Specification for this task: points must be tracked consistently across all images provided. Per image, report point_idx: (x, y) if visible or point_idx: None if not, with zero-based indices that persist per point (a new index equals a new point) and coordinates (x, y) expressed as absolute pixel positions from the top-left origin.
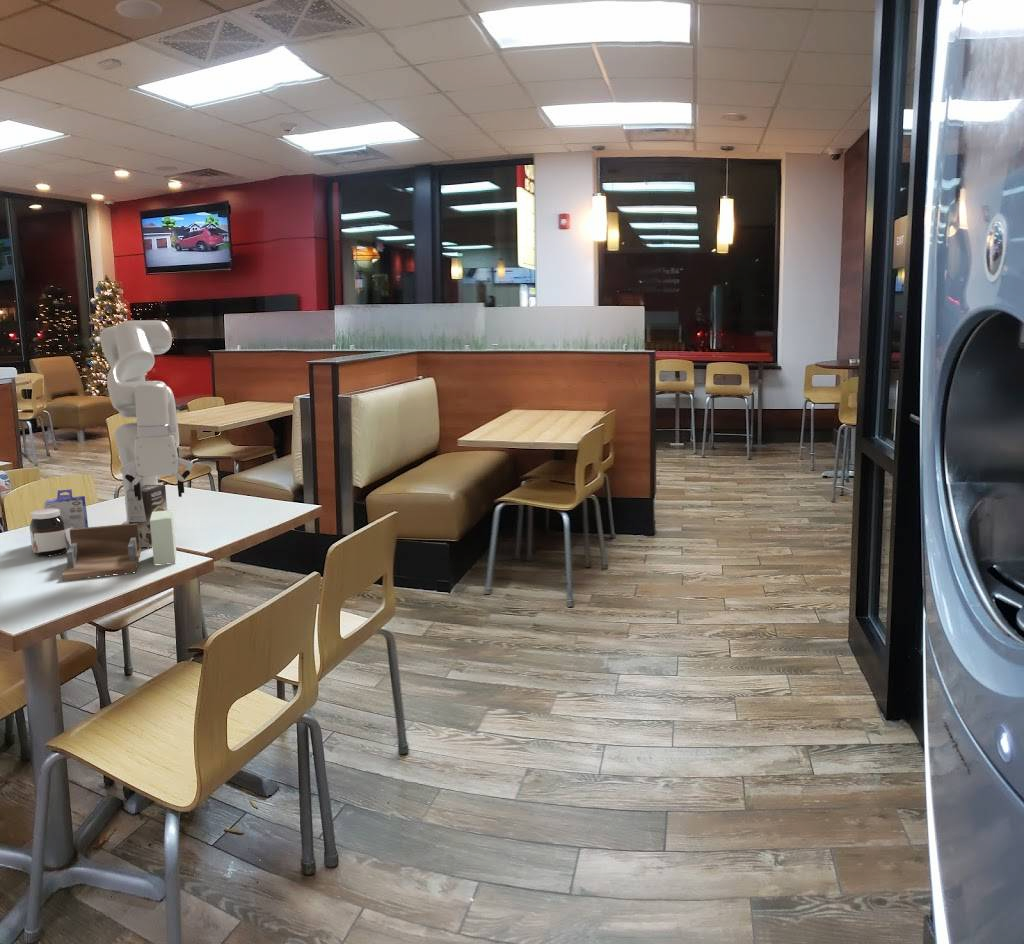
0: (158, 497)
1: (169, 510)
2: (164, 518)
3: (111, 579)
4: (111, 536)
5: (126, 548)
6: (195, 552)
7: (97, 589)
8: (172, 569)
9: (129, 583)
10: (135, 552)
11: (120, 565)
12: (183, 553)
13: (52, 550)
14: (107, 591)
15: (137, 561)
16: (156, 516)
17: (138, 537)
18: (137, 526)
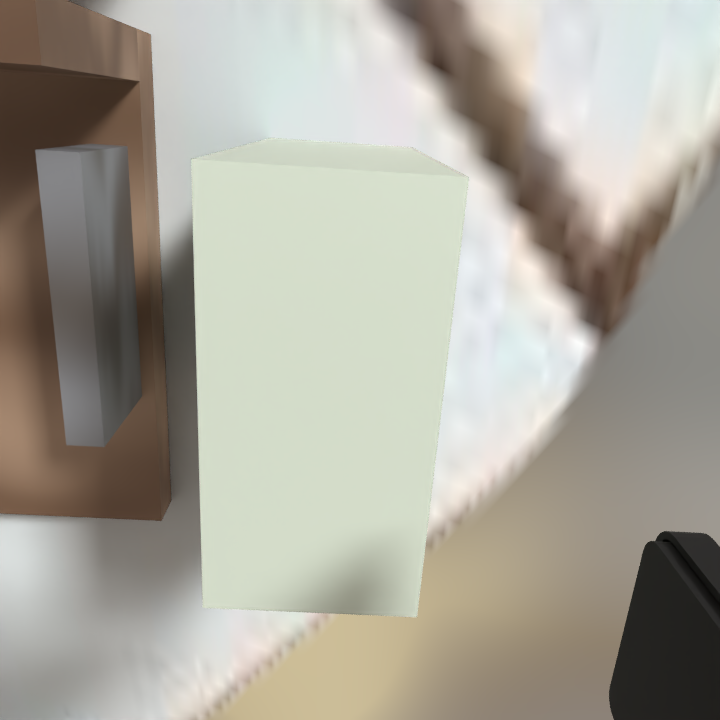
0: None
1: (426, 179)
2: (350, 580)
3: (56, 550)
4: None
5: (27, 72)
6: (540, 187)
7: (22, 668)
8: None
9: (161, 641)
10: (124, 290)
11: (66, 446)
12: None
13: None
14: (76, 707)
15: (157, 344)
16: (262, 457)
17: (99, 73)
18: (51, 66)
